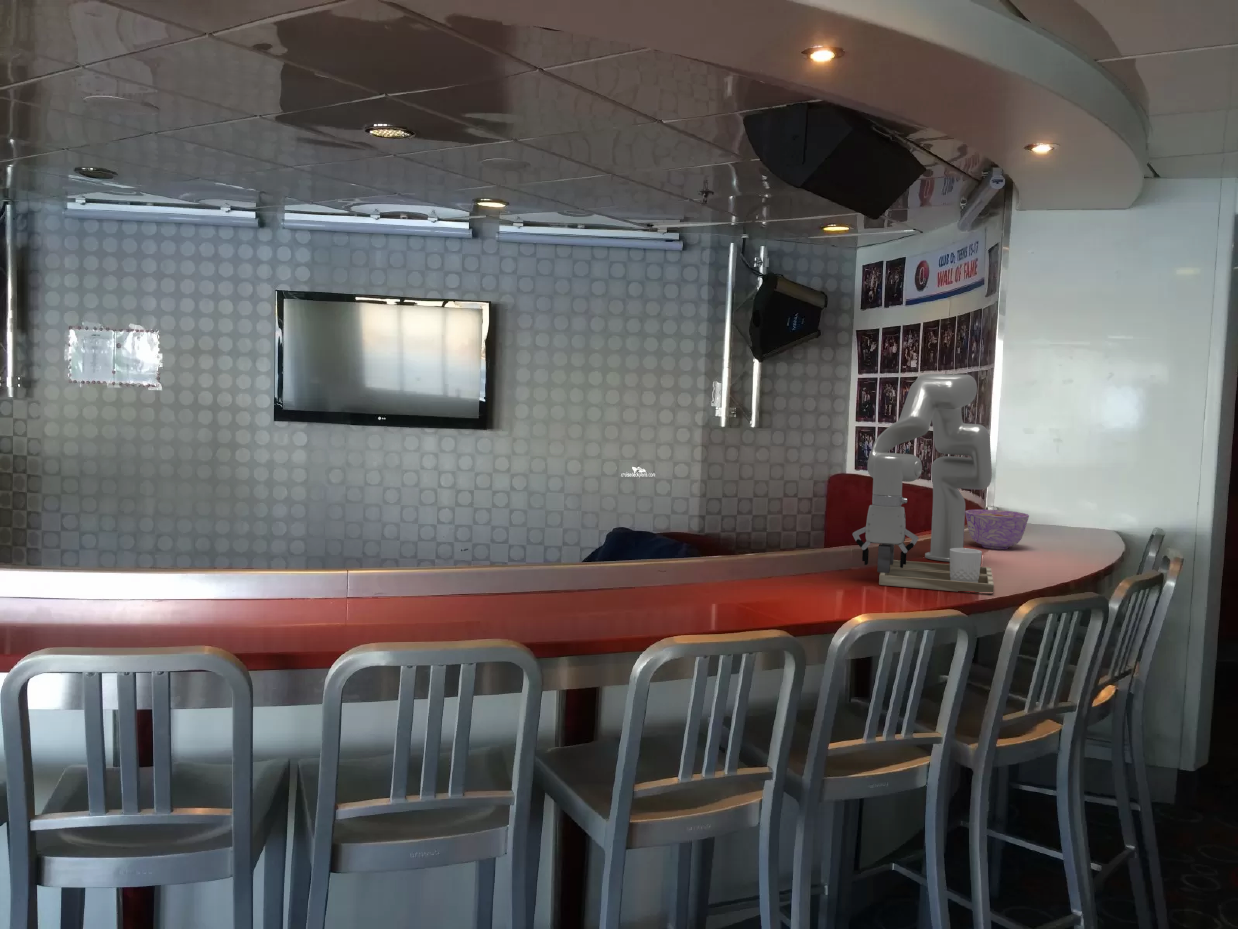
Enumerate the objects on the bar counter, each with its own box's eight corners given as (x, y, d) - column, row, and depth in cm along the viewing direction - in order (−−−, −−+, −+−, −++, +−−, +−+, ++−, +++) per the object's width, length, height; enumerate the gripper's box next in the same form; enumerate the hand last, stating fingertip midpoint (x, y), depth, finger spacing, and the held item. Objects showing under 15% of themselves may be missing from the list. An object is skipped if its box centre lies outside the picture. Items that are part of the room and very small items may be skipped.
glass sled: (879, 576, 268) (880, 541, 267) (991, 585, 258) (993, 549, 257) (875, 584, 255) (877, 548, 255) (993, 594, 246) (995, 557, 245)
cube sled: (883, 567, 281) (884, 535, 280) (990, 576, 271) (992, 542, 271) (879, 575, 269) (881, 541, 268) (991, 584, 259) (993, 549, 258)
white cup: (975, 586, 258) (977, 548, 257) (983, 592, 250) (985, 553, 249) (944, 584, 259) (946, 547, 258) (951, 590, 251) (953, 552, 250)
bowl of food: (954, 546, 325) (955, 512, 324) (976, 540, 340) (978, 508, 340) (1015, 554, 312) (1017, 518, 311) (1035, 547, 327) (1037, 513, 327)
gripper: (921, 502, 260) (918, 566, 261) (854, 498, 266) (852, 560, 267) (920, 504, 253) (917, 570, 254) (852, 500, 259) (849, 565, 260)
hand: (883, 565), depth 261 cm, fingers open, 8 cm apart
